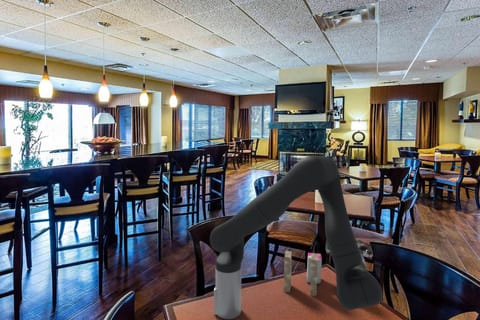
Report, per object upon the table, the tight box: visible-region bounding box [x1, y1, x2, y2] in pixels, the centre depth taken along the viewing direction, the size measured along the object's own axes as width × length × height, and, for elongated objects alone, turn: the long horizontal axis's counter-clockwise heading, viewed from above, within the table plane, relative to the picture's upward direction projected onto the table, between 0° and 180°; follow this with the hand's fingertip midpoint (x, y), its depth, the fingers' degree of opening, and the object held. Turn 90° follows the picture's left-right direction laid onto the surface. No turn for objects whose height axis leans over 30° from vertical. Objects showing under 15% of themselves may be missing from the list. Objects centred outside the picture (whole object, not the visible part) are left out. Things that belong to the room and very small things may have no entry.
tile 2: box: [309, 252, 319, 297], centre depth 123 cm, size 2×6×15 cm, turn 166°
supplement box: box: [306, 252, 323, 285], centre depth 132 cm, size 6×6×12 cm
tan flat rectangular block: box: [283, 250, 293, 293], centre depth 126 cm, size 2×6×15 cm, turn 166°
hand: (346, 240), depth 106 cm, fingers open, 8 cm apart
